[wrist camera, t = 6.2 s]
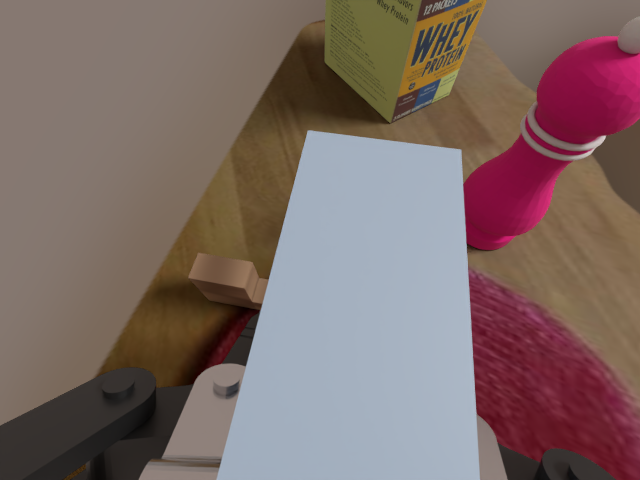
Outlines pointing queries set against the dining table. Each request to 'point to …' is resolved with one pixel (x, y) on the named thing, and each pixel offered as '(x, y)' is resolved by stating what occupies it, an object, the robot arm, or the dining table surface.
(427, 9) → the protein box
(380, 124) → the dining table surface
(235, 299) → the wooden notched block
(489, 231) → the pepper mill
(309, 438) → the pale blue notched block
